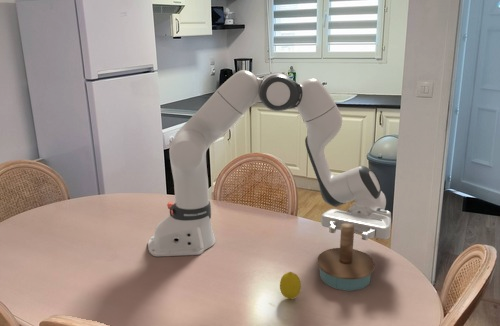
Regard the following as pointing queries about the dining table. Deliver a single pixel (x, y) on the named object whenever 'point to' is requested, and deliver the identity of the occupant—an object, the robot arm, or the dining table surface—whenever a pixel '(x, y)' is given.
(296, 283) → the lemon
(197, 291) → the dining table surface
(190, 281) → the dining table surface
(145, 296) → the dining table surface
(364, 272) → the lid
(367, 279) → the bowl
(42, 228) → the dining table surface
